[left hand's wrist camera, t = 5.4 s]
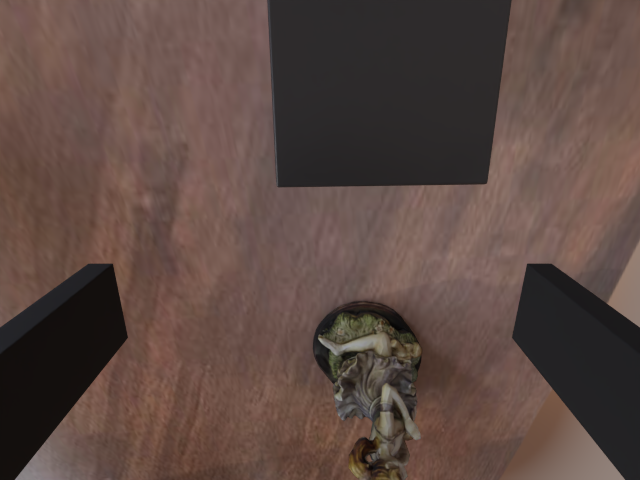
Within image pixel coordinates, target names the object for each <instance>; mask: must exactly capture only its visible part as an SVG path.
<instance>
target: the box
mask: <svg viewBox="0 0 640 480" xmlns="http://www.w3.org/2000/svg"><path fill="white" fill-rule="evenodd" d="M267 1H268V21H269V42H270V63H271V83H272V104H273V125H274V146H275V166H276V185H277V187H332V186H400V185H468V184H487V180H488V173H489V165H490V158H491V150H492V143H493V135H494V128H495V120H496V113H497V105H498V98H499V90H500V83H501V75H502V67H503V60H504V52H505V45H506V37H507V30H508V22H509V15H510V7H511V0H267Z"/></svg>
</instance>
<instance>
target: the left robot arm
mask: <svg viewBox="0 0 640 480" xmlns="http://www.w3.org/2000/svg"><path fill="white" fill-rule="evenodd" d="M127 338H128V336H127V331H126V326H125V321H124V316H123V311H122V307H121V302H120V297H119V292H118V287H117V282H116V277H115V272H114V267H113V264H88V265H86V266H85V267H83V268H82V269H81V270H79V271H78V272H76V273H75V274H74V275H72V276H71V277H70V278H68V279H67V280H65V281H64V282H63V283H61V284H60V285H58V286H57V287H56V288H54V289H53V290H52V291H50V292H49V293H47V294H46V295H45V296H43V297H42V298H40V299H39V300H38V301H36V302H35V303H34V304H32V305H31V306H29V307H28V308H27V309H25V310H24V311H22V312H21V313H20V314H18V315H17V316H16V317H14V318H13V319H11V320H10V321H9V322H7V323H6V324H4V325H3V326H2V327H0V480H15V479H16V477H17V476H18V475H19V474H20V472H21V471H22V470H23V469H24V467H25V466H26V465H27V464H28V462H29V461H30V460H31V459H32V457H33V456H34V455H35V454H36V452H37V451H38V450H39V449H40V447H41V446H42V445H43V444H44V442H45V441H46V440H47V439H48V437H49V436H50V435H51V434H52V432H53V431H54V430H55V429H56V427H57V426H58V425H59V423H60V422H61V421H62V420H63V418H64V417H65V416H66V415H67V413H68V412H69V411H70V410H71V408H72V407H73V406H74V405H75V403H76V402H77V401H78V400H79V398H80V397H81V396H82V395H83V393H84V392H85V391H86V390H87V388H88V387H89V386H90V385H91V383H92V382H93V381H94V380H95V378H96V377H97V376H98V375H99V373H100V372H101V371H102V370H103V368H104V367H105V366H106V364H107V363H108V362H109V361H110V359H111V358H112V357H113V356H114V354H115V353H116V352H117V351H118V349H119V348H120V347H121V346H122V344H123V343H124V342H125V341H126V339H127ZM512 338H513V339H514V341H515V342H516V343H517V344H518V346H519V347H520V348H521V349H522V351H523V352H524V353H525V354H526V356H527V357H528V358H529V359H530V361H531V362H532V363H533V364H534V366H535V367H536V368H537V370H538V371H539V372H540V373H541V375H542V376H543V377H544V378H545V380H546V381H547V382H548V383H549V385H550V386H551V387H552V388H553V390H554V391H555V392H556V393H557V395H558V396H559V397H560V398H561V400H562V401H563V402H564V403H565V405H566V406H567V407H568V408H569V410H570V411H571V412H572V413H573V415H574V416H575V417H576V418H577V420H578V421H579V422H580V423H581V425H582V426H583V427H584V428H585V430H586V431H587V432H588V434H589V435H590V436H591V437H592V438H593V440H594V441H595V442H596V444H597V445H598V446H599V447H600V449H601V450H602V451H603V452H604V454H605V455H606V456H607V457H608V459H609V460H610V461H611V462H612V464H613V465H614V466H615V467H616V469H617V470H618V471H619V472H620V474H621V475H622V476H623V477H624V479H625V480H640V327H638V326H637V325H635V324H634V323H633V322H631V321H630V320H629V319H627V318H626V317H624V316H623V315H622V314H620V313H619V312H617V311H616V310H615V309H613V308H612V307H611V306H609V305H608V304H606V303H605V302H604V301H602V300H601V299H600V298H598V297H597V296H595V295H594V294H593V293H591V292H590V291H588V290H587V289H586V288H584V287H583V286H582V285H580V284H579V283H577V282H576V281H575V280H573V279H572V278H570V277H569V276H568V275H566V274H565V273H564V272H562V271H561V270H559V269H558V268H557V267H555V266H554V265H552V264H527V267H526V272H525V277H524V282H523V287H522V292H521V297H520V302H519V307H518V311H517V316H516V321H515V326H514V331H513V336H512Z"/></svg>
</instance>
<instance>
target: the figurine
mask: <svg viewBox="0 0 640 480" xmlns="http://www.w3.org/2000/svg"><path fill="white" fill-rule="evenodd" d="M313 351H314V357H315V359H316V361H317V364H318V365H319V367H320V368H321V370H322V371H323V372H324V373H325V374H326V376H327V377H328V378H329V379H330V380H331V381H332V383H333V384H334V385H333V392H334V400H335V404H336V409H337V413H338V415H339V416H340V417H341V419H342V420H343V421H345V420H346V418H347V417H349V418H351V419H352V418H353V416H354V415H356V416H357V417H358V418H359V419H363V418H364V417H368V418H369V419H370V420H372V421H373V424H372V429H371V435H370V438H369V440H368V439H367V438H366V437H362V438H360V439H359V440H358V441H357V442H356V443H355V445H354V448H353V450H352V451H351V453H350V454H349V469H350V470H351V471H352V473H353V474H354V475H355V476H356V477H357V478H358V479H359V480H405V479H406V478H407V472H406V470H405V468H404V466H405V465H407V464H408V461H409V457H410V454H409V451H408V448H407V445H406V443H405V440H407V441H408V440H412V439H413V438H414V439H415V440H418V439H421V437H420V432H419V431H418V427H417V425H416V424H415V423H414V420H415V416H416V405H417V396H416V388H415V386H414V384H413V382H415V381H416V379H417V372H418V370H419V367H420V363H421V354H422V348H421V346H420V345H419V342H418V341H417V339H416V337H415V335H414V334H413V332H412V331H411V329H410V328H409V326H408V325H407V324H406V323H405V322H404V320H403V319H402V318H401V316H400V315H398V314H397V313H396V312H395V311H394V310H393V309H391V308H389V307H387V306H385V305H382V304H377V303H371V302H354V303H350V304H346V305H343V306H340V307H338V308H336V309H335V310H333V311H332V312H330V313H329V314H328V315H327V316H326V317H325V318H324V319H323V321H322V322H321V323H320V324H319V326H318V328H317V329H316V332H315V335H314V341H313ZM368 455H370V456H371V459H372V462H368V461H367V460H366V457H367V456H368Z"/></svg>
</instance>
